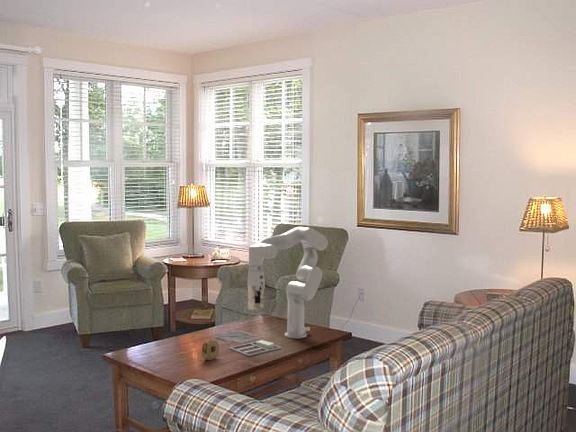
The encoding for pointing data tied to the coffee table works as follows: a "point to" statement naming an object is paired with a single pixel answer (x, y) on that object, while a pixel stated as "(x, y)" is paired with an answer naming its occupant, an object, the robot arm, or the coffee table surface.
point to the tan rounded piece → (206, 348)
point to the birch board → (251, 299)
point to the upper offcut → (265, 344)
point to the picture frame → (237, 336)
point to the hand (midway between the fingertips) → (255, 302)
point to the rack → (252, 350)
